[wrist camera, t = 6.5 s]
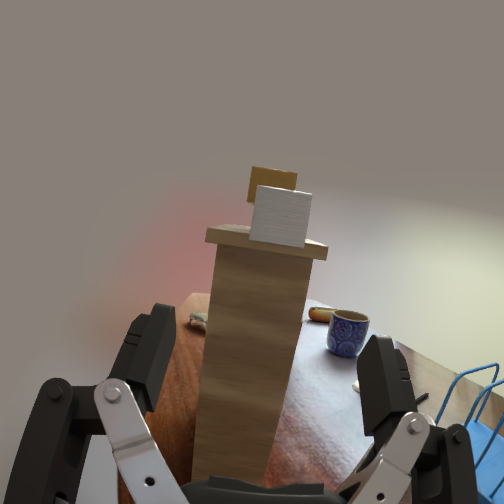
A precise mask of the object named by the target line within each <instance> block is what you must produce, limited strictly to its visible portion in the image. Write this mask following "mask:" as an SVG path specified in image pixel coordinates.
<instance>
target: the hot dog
mask: <svg viewBox="0 0 504 504" xmlns="http://www.w3.org/2000/svg"><path fill="white" fill-rule="evenodd" d="M334 310H337V309H331V308H321V307H311V308H310V310H309V317H310V319H312V320H315V321H321V322H330V319H331V315H332V312H333V311H334Z"/></svg>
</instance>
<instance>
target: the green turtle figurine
mask: <svg viewBox="0 0 504 504" xmlns="http://www.w3.org/2000/svg"><path fill="white" fill-rule="evenodd" d="M190 317H191V318H190V322H191V321H192V319H195V320H196V321H197V320H199V321H198V322H204V326H205V331H206V327H207V319H208V315H206V314H204V313H200V312H195V313H191V315H190ZM190 322H188V323H190ZM198 322H196V323H198ZM196 323H194V324H196ZM194 324H191V325H194Z"/></svg>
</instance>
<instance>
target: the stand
mask: <svg viewBox="0 0 504 504" xmlns="http://www.w3.org/2000/svg"><path fill="white" fill-rule="evenodd" d="M250 230H251V227H247V226H240V225H234V224H227V225H221V226H214V227H207V231H206V238H205V242H208V243H215V244H218V245H217V252H216V259H215V266H214V273H213V280H212V288H211V295H210V303H209V311H208V319H207V327H206V335H205V344H204V352H203V361H202V370H201V379H200V388H199V398H198V408H197V418H196V429H195V440H194V451H193V463H192V476H191V482H193V481H197V480H203V479H209V475H215V476H221V477H229V478H236V479H241V480H243V481H246V482H249V483H252V484H255V485H258V486H261V484H262V480H263V477H264V473H265V470H266V466H267V463H268V459H269V456H270V452H271V448H272V445H273V441H274V437H275V433H276V430H277V426H278V422H279V418H280V414H281V410H282V406H283V402H284V398H285V394H286V389H287V385H288V381H289V377H290V372H291V368H292V363H293V359H294V354H295V350H296V345H297V341H298V336H299V331H300V326H301V321H302V316H303V311H304V306H305V301H306V296H307V290H308V285H309V280H310V274H311V269H312V262H313V259H318V260H326V258H327V253H328V246H326V245H323V244H320V243H317V242H315V241H312V240H308V239H305V245H304V249H300V248H294V247H288V246H281V245H275V244H269V243H262V242H256V241H250V240H249V236H250Z"/></svg>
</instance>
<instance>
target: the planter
mask: <svg viewBox="0 0 504 504" xmlns="http://www.w3.org/2000/svg"><path fill="white" fill-rule="evenodd" d="M369 322H370V319H369V317H367V316H366V315H364V314H361V313H358V312H354V311H348V310H334V311H333V312H332V315H331V319H330V324H329V329H328V334H327V346H328V348H329V350H330V351H331V352H332V353H334V354H336V355H339V356H343V357H351V356H354V355H356V354H357V353H359V351H360V350H361V349H362V347H363V344H364V341H365V338H366V334H367V331H368V326H369Z"/></svg>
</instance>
